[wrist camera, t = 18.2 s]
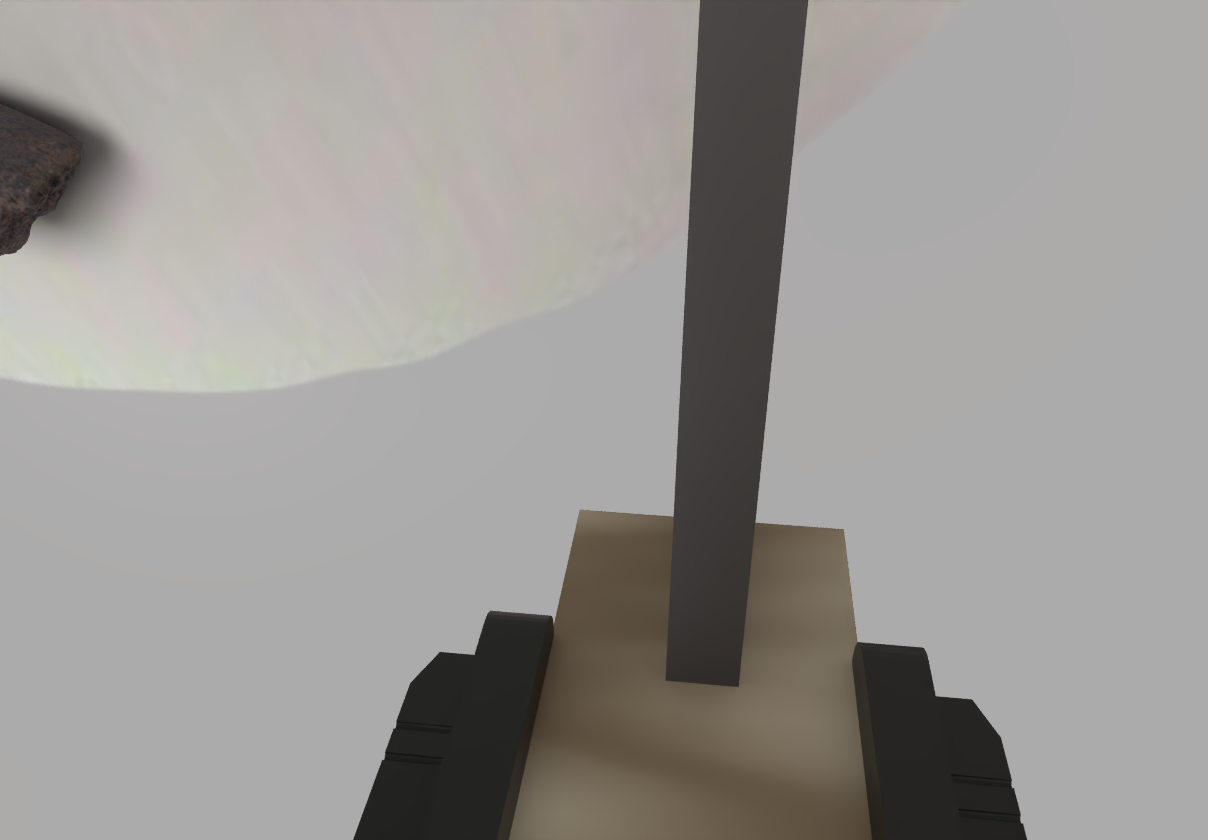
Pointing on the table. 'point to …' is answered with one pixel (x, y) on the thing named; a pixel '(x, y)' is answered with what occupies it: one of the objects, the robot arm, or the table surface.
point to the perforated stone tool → (30, 173)
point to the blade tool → (710, 542)
